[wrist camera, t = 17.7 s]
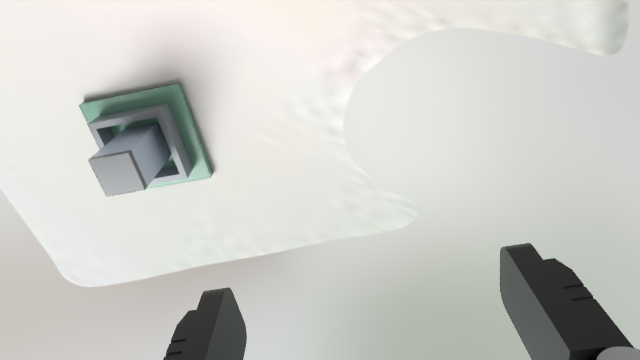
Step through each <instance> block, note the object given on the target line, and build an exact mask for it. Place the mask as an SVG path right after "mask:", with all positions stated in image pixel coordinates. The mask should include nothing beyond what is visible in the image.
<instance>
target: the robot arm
mask: <svg viewBox="0 0 640 360" xmlns="http://www.w3.org/2000/svg"><path fill="white" fill-rule="evenodd" d="M500 292H501V297H502V301H503V304H504V306H505V309H506V311H507V313H508V314H509V316H510V319H511V320H512V322H513V324H514V326H515V328H516V330H517V332H518V334H519V336H520V338H521V340H522V342H523V343H524V345H525V347H526V349H527V351H528V353H529V355H530V357H531V359H532V360H640V350H639V349H635V348H634V347H633V346H632V345H631V344H630V342H629V341H628V340H627V339H626V337H625V336H624V335H623V333H622V332H621V331H620V330H619V328H618V327H617V326H616V325H615V323H614V322H613V321H612V320H611V318H610V317H609V316H608V315H607V313H606V312H605V311H604V310H603V308H602V307H601V306H600V305H599V303H598V302H597V301H596V300H595V299H593V296H592V295H591V293H590V292H589V291H588V290H587V288H586V287H584V286H583V283H582V282H581V281H580V279H579V278H578V277H577V276H576V274H575V273H574V272H573V270H572V269H570V268H568V267H567V266H565V265H564V264H562V263H561V262H559V261H557V260H556V259H554V258H553V259H546V260H543V259H542V258H541V256H540V255H539V254H538V252H537V251H536V250H535V248H534V247H533V246H532V245H531V244H530V243H526V244H520V245H513V246H506V247H502V248H501V250H500ZM246 337H247V336H246V327H245V323H244V320H243V317H242V315H241V313H240V310H239V308H238V305H237V302H236V300H235V297H234V295H233V292H232V290H231V289H230V288H222V289H216V290H209V291H204V292H203V294H202V296H201V299H200V302H199V305H198V308H197V310H192V311H188V313H187V314H186V315H185V316H184V317H183V319H182V320H181V321H180V322H179V324H178V325H177V327H176V329H175V332H174V334H173V337H172V339H171V344H169V347H168V349H167V352H166V357H164V359H163V360H243V357H244V352H245V347H246V339H247V338H246Z"/></svg>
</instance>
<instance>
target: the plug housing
mask: <svg viewBox="0 0 640 360" xmlns="http://www.w3.org/2000/svg"><path fill="white" fill-rule="evenodd" d="M169 158H170V153H169V151H168V148H167V146H166V143H165V141H164V138H163V136H162V133H161V131H160V128H159V126H158V123H156V124H151V125H146V126H140V127H135V128H130V129H125V130H122V131H121V132H120V133H119V134H118V135H117V136H115V137H114V138H113V139H112V140H111V141H110V142H109V143H107V144H106V145H105V146H104V147H103V148H102V149H101V150H99V151H98V152H97V153H96V154H95V155H94V156H92V157H91V158H90V159H89V160H88V161H89V163H90V165H91V167H92V169H93V171H94V173H95V175H96V177H97V179H98V181H99V183H100V185H101V187H102V189H103V191H104V193H105V195H106V197H107V196H113V195H119V194H124V193H130V192H136V191H142V190H145V189H146V188H147V187H148V185H149V184H150V183H151V181H152V180H153V179H154V177H155V176H156V175H157V173H158V172H159V171H160V169H161V168H162V167H163V166H164V164H165V163H166V162H167V160H168V159H169Z"/></svg>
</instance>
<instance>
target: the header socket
mask: <svg viewBox="0 0 640 360" xmlns="http://www.w3.org/2000/svg"><path fill="white" fill-rule="evenodd" d="M79 107H80V109H81V111H82V113H83V115H84V117H85V119H86V121H87V123H88V127H89V129H90V131H91V133H92V135H93V137H94V139H95V141H96V143H97V145H98V147H99V149H100V150H101V149H102V148H103V147H104V146H105V145H106V144H107V143H109V142H110V141H111V140H112V139H113V138H114V137H115V136H117V135H118V134H119V133H120V132H121V131H122V130H125V129H130V128H135V127H140V126H146V125H151V124H156V123H158V126H159V128H160V131H161V133H162V136H163V138H164V141H165V143H166V146H167V148H168V151H169V153H170V158H169V159H168V160H167V162H166V163H165V164H164V166H163V167H162V168H161V169H160V171H159V172H158V173H157V175H156V176H155V177H154V179H153V180H152V181H151V183H150V184H149V185H148V187H147V188H146V189H150V188H156V187H162V186H167V185H173V184H178V183H184V182H190V181H195V180H201V179H206V178H211V176H212V171H211V169H210V166H209V163H208V160H207V157H206V155H205V152H204V149H203V146H202V144H201V141H200V138H199V135H198V133H197V130H196V127H195V124H194V121H193V119H192V116H191V113H190V110H189V108H188V105H187V102H186V99H185V96H184V94H183V91H182V88H181V85H180V83H177V84H173V85H168V86H163V87H158V88H153V89H148V90H143V91H138V92H133V93H128V94H123V95H118V96H113V97H108V98H104V99H99V100H94V101H89V102H84V103H82V104H80V105H79Z"/></svg>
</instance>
